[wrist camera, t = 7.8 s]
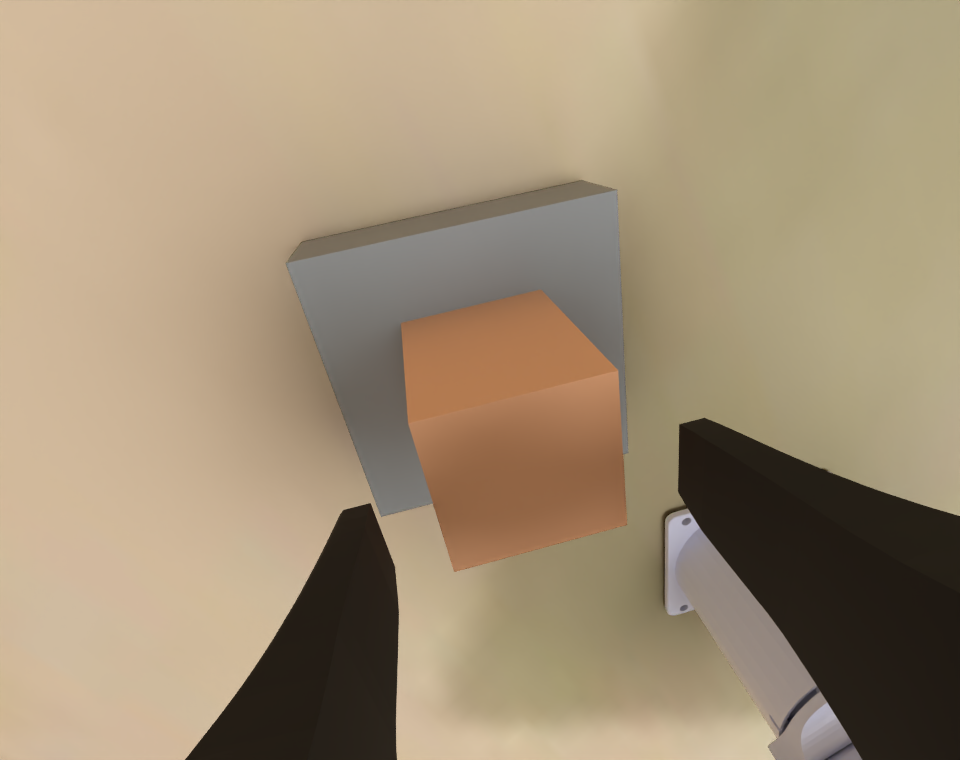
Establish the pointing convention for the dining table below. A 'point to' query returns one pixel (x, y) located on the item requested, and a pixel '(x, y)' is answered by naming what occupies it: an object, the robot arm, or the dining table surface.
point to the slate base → (450, 303)
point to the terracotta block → (514, 427)
